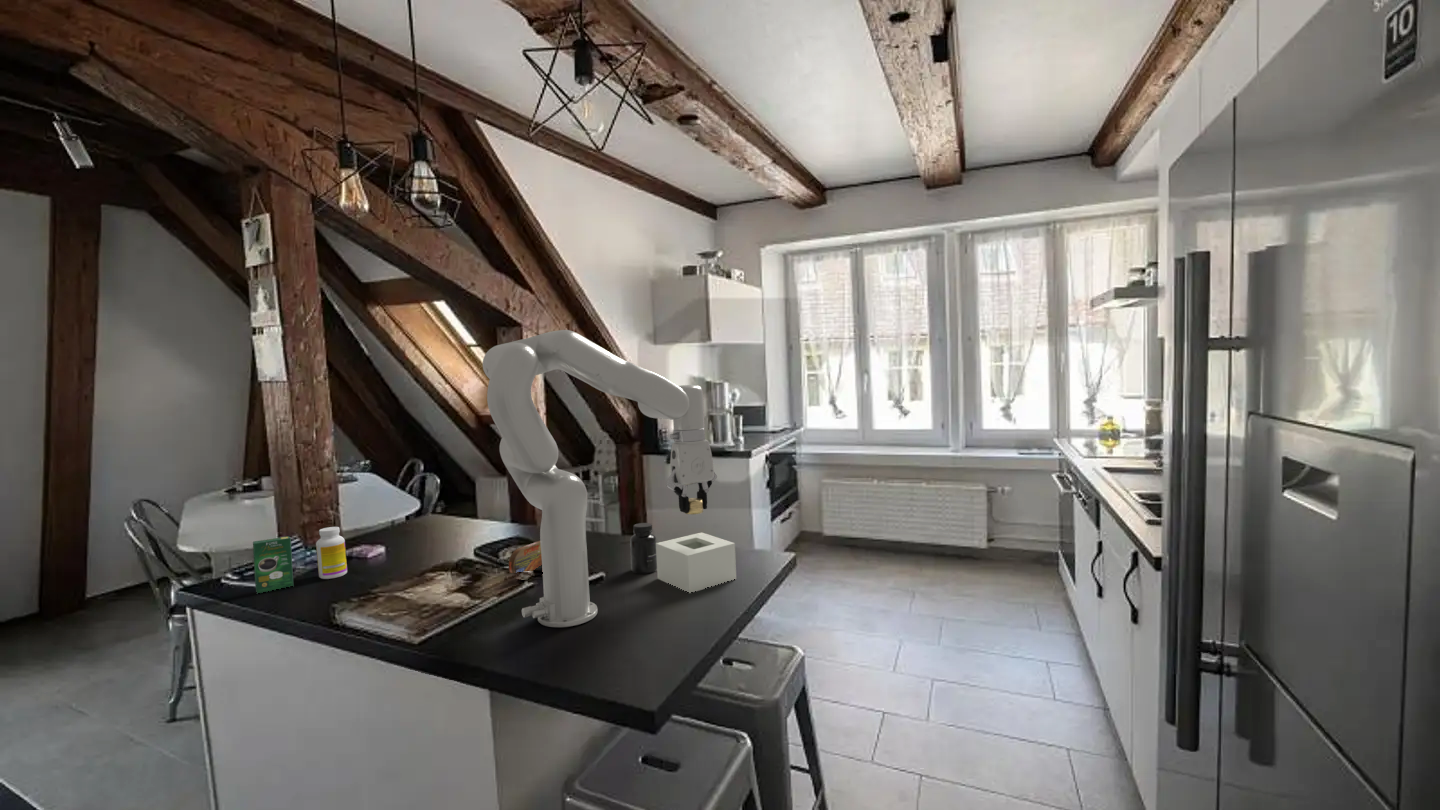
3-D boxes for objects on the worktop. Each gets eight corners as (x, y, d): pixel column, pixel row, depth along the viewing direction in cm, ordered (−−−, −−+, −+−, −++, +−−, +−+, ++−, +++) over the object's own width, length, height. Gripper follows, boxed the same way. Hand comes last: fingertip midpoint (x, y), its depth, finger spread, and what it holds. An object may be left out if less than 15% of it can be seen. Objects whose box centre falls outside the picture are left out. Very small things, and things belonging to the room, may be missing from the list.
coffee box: (293, 584, 169) (289, 534, 168) (295, 586, 166) (290, 536, 165) (255, 592, 164) (251, 541, 163) (256, 595, 161) (252, 543, 160)
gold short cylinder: (691, 515, 155) (690, 503, 154) (680, 512, 158) (680, 500, 158) (706, 511, 157) (706, 499, 157) (696, 508, 161) (695, 497, 161)
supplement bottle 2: (656, 574, 165) (653, 528, 164) (629, 575, 165) (627, 528, 164) (659, 565, 172) (657, 521, 171) (633, 566, 172) (631, 522, 171)
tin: (515, 585, 161) (513, 552, 160) (507, 583, 162) (505, 550, 162) (560, 567, 173) (558, 536, 173) (552, 566, 175) (550, 535, 175)
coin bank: (689, 593, 150) (687, 555, 150) (657, 578, 161) (655, 543, 161) (736, 579, 159) (734, 543, 158) (703, 566, 170) (701, 532, 169)
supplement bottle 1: (352, 573, 175) (348, 527, 174) (326, 581, 170) (322, 533, 169) (339, 570, 179) (335, 524, 178) (314, 577, 173) (309, 530, 172)
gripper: (668, 441, 148) (672, 519, 150) (726, 433, 158) (730, 506, 160) (651, 439, 154) (655, 514, 156) (708, 431, 164) (712, 501, 166)
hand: (693, 509), depth 158 cm, fingers closed on gold short cylinder, 4 cm apart
